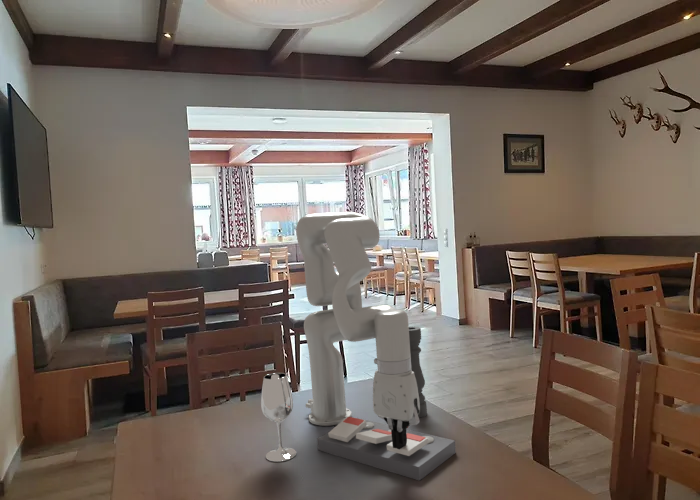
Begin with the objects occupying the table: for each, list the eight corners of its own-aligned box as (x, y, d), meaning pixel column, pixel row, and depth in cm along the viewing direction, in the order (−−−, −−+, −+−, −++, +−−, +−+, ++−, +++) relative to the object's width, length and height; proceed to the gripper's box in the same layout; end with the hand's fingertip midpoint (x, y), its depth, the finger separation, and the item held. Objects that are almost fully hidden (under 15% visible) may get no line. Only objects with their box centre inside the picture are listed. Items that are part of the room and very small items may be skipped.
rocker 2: (355, 438, 126) (356, 432, 126) (376, 433, 132) (376, 428, 132) (376, 443, 122) (376, 437, 122) (396, 438, 128) (396, 433, 128)
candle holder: (426, 417, 149) (420, 330, 148) (404, 417, 150) (398, 331, 149) (427, 410, 155) (422, 326, 154) (406, 410, 157) (401, 326, 155)
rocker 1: (329, 437, 132) (328, 432, 131) (348, 420, 138) (347, 415, 137) (347, 442, 128) (346, 437, 127) (366, 424, 134) (365, 420, 133)
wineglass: (302, 449, 134) (296, 371, 133) (288, 463, 126) (282, 381, 125) (274, 447, 136) (268, 371, 135) (259, 460, 129) (253, 380, 128)
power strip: (305, 446, 136) (304, 433, 136) (345, 425, 148) (344, 413, 148) (419, 480, 113) (418, 465, 113) (455, 452, 126) (454, 439, 126)
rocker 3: (386, 450, 120) (386, 444, 120) (406, 437, 126) (406, 432, 126) (409, 456, 116) (408, 450, 116) (428, 443, 122) (427, 437, 122)
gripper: (357, 365, 120) (363, 445, 120) (413, 374, 110) (418, 460, 111) (377, 358, 125) (383, 434, 126) (432, 365, 116) (437, 447, 116)
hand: (399, 446), depth 118 cm, fingers closed
